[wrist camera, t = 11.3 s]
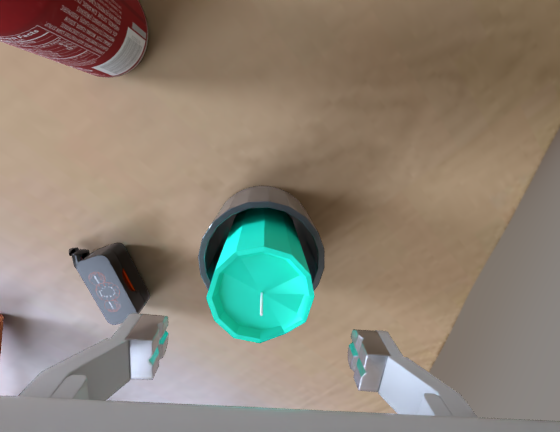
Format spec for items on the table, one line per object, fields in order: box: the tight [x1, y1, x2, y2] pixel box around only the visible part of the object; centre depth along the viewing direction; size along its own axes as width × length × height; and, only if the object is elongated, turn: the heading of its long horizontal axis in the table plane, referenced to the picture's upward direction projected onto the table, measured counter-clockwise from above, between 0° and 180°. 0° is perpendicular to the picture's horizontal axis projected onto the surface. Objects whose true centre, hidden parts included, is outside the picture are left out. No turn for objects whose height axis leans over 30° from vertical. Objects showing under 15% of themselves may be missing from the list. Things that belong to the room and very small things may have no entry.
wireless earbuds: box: [69, 243, 150, 325], centre depth 25 cm, size 5×7×3 cm, turn 18°
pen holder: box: [198, 186, 324, 291], centre depth 23 cm, size 9×9×6 cm
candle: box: [206, 208, 314, 343], centre depth 20 cm, size 6×6×12 cm
